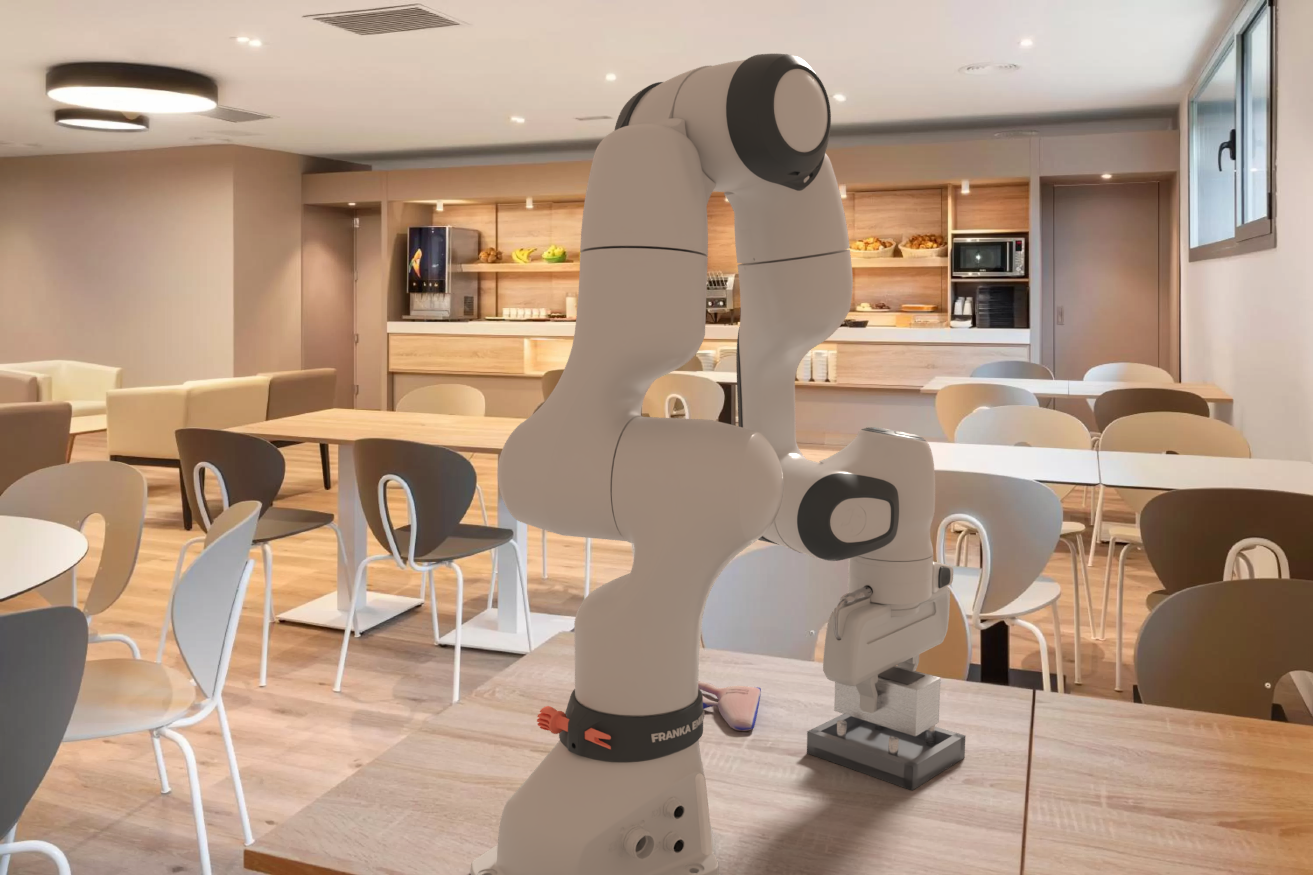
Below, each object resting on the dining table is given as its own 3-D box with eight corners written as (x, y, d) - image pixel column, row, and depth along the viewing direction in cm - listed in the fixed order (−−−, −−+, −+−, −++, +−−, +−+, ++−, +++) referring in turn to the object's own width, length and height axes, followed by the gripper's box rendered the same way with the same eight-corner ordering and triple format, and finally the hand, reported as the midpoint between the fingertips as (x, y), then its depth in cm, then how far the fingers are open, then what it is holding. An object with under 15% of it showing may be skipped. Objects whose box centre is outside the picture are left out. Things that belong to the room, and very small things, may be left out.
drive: (915, 736, 110) (917, 689, 109) (834, 710, 117) (835, 666, 116) (938, 722, 114) (940, 676, 113) (858, 698, 120) (860, 655, 120)
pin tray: (912, 790, 107) (913, 752, 106) (806, 753, 116) (807, 718, 115) (964, 757, 115) (966, 722, 114) (862, 724, 124) (863, 692, 123)
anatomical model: (753, 739, 121) (763, 693, 136) (754, 715, 121) (764, 671, 135) (581, 724, 125) (609, 680, 139) (581, 701, 124) (609, 659, 139)
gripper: (862, 604, 104) (859, 738, 105) (961, 565, 118) (956, 684, 120) (809, 592, 108) (807, 721, 110) (911, 556, 123) (907, 671, 125)
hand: (886, 701), depth 115 cm, fingers closed on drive, 5 cm apart
